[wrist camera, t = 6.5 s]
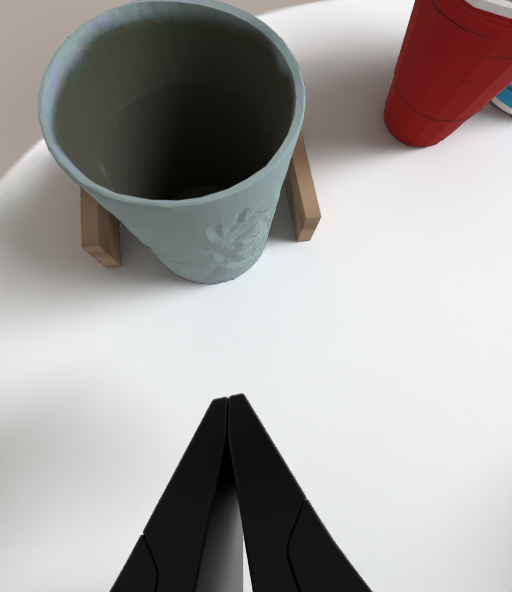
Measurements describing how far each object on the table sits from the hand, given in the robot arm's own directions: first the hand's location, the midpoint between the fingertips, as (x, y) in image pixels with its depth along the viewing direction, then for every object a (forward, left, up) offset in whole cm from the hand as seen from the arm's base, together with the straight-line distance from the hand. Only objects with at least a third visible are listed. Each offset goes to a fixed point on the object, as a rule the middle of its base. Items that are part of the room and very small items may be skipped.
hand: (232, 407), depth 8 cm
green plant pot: (+7, +10, -13) cm, 17 cm away
